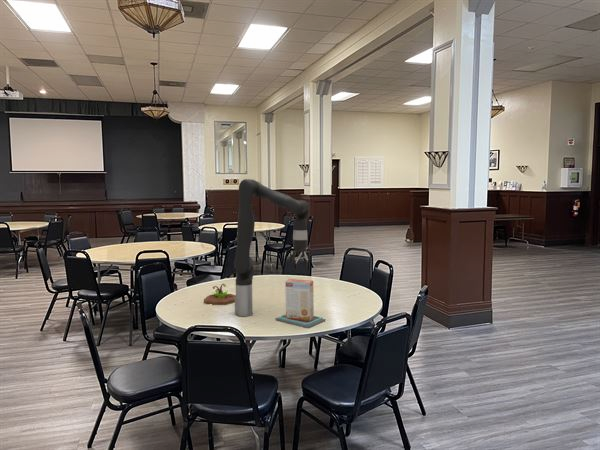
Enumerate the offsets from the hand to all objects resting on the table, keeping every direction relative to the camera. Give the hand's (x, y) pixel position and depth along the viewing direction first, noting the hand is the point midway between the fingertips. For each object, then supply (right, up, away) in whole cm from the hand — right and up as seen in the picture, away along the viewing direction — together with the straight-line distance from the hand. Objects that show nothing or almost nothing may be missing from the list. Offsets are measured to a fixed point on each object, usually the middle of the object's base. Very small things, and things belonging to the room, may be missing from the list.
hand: (300, 269), depth 229 cm
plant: (-49, -25, +43) cm, 70 cm away
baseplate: (0, -28, +3) cm, 28 cm away
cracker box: (0, -27, +2) cm, 27 cm away
